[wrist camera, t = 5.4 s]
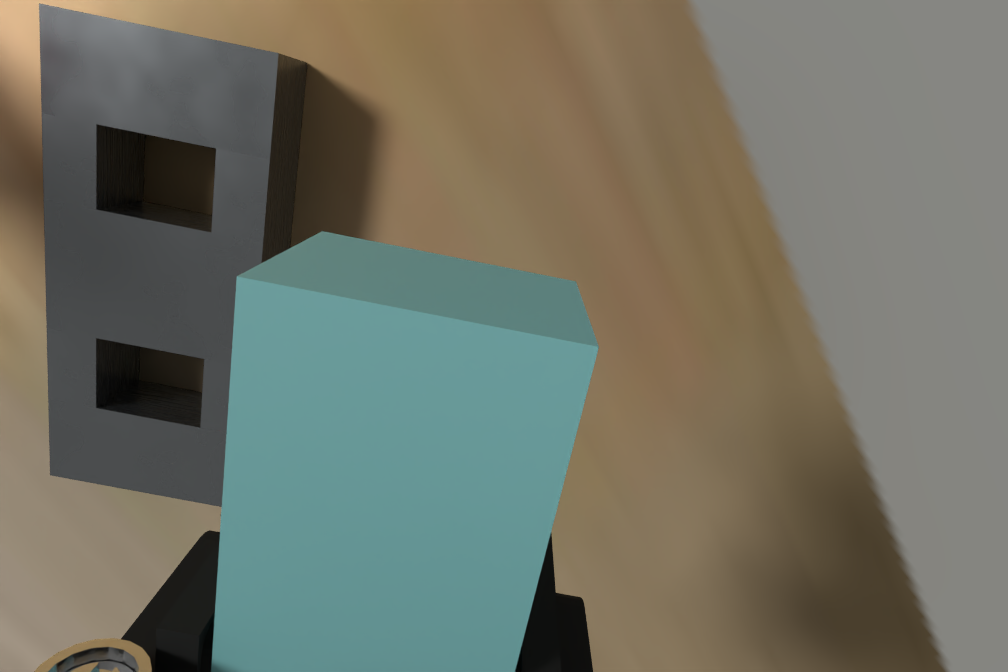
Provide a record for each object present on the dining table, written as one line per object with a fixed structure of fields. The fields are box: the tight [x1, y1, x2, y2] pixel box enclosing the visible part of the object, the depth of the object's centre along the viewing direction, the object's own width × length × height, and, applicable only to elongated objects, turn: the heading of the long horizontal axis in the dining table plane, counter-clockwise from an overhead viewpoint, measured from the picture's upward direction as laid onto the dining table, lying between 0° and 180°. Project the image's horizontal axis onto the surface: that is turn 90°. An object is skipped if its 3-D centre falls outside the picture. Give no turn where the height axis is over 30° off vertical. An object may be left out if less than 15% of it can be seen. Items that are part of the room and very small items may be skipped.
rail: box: [39, 4, 307, 507], centre depth 25 cm, size 18×8×3 cm, turn 169°
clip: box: [211, 231, 599, 672], centre depth 11 cm, size 12×4×6 cm, turn 169°
